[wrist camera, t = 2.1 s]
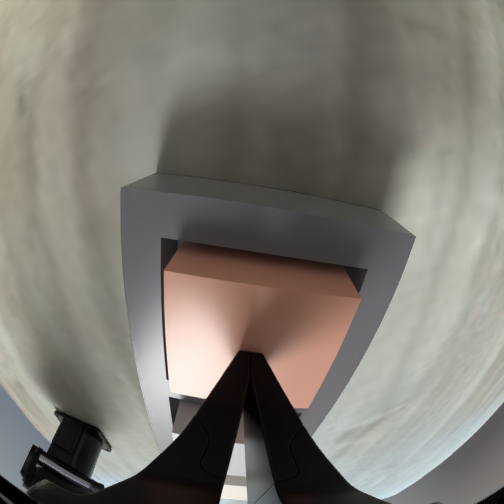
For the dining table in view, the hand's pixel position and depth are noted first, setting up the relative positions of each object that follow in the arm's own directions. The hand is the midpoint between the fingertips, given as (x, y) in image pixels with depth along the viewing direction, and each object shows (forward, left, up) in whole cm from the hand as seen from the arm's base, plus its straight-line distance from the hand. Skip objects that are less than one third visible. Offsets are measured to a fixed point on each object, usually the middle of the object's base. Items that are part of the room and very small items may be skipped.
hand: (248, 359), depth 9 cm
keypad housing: (-9, 0, -4) cm, 10 cm away
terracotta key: (0, 0, -2) cm, 2 cm away
